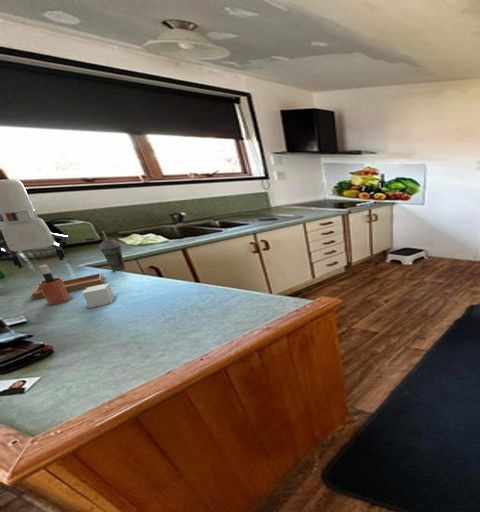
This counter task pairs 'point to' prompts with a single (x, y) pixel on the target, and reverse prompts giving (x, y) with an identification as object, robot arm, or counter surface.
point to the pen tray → (75, 284)
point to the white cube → (98, 295)
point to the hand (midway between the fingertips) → (42, 263)
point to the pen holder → (54, 291)
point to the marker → (46, 273)
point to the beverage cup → (112, 254)
